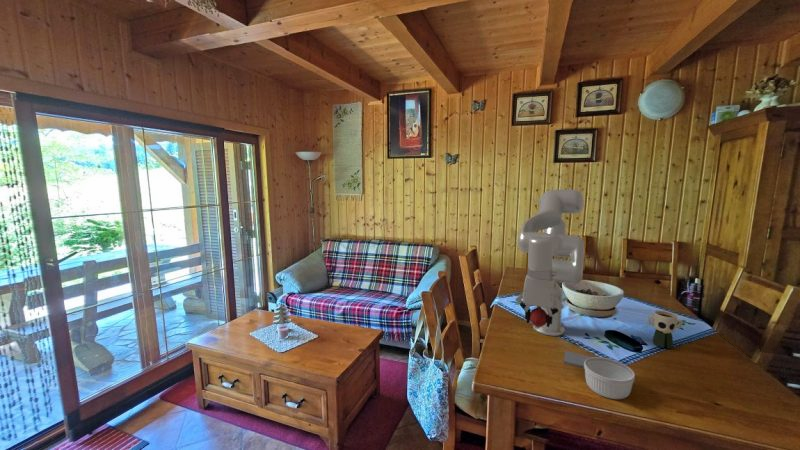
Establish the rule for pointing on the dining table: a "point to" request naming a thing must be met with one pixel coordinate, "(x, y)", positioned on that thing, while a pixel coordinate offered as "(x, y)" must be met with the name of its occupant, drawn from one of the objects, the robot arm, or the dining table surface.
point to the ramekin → (608, 377)
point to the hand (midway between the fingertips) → (538, 323)
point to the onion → (538, 317)
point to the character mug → (664, 327)
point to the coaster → (575, 359)
